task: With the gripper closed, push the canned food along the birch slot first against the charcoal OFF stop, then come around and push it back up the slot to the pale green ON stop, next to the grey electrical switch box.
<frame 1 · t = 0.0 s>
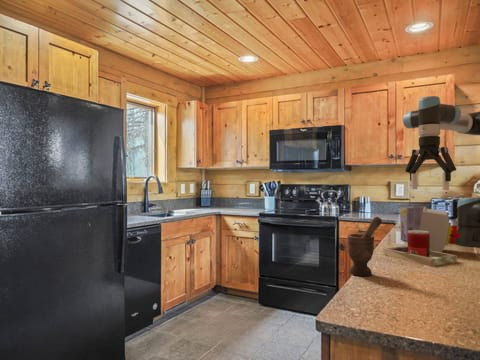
hand: (429, 189, 139), 28 cm above the counter, tool pointing down, fingers open, 13 cm apart
canned food: (418, 258, 142), resting in slot frame
slot frame: (418, 258, 142), on the counter
mortar and pestle: (365, 275, 118), on the counter
cake pan box: (414, 239, 187), on the counter
electrical switch box: (437, 252, 155), on the counter
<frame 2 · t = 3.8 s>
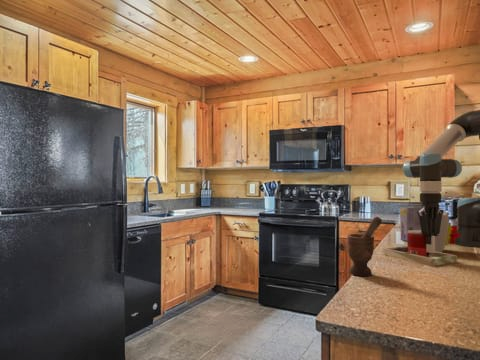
hand: (430, 252, 137), 3 cm above the counter, tool pointing down, fingers closed
canned food: (418, 258, 142), resting in slot frame, touching gripper
everything else where it was.
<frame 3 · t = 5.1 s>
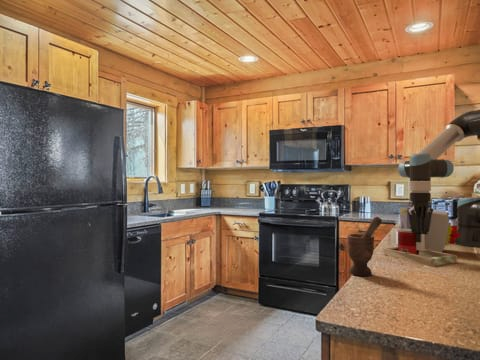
hand: (420, 250, 141), 3 cm above the counter, tool pointing down, fingers closed
canned food: (408, 256, 146), resting in slot frame, touching gripper
everything else where it was.
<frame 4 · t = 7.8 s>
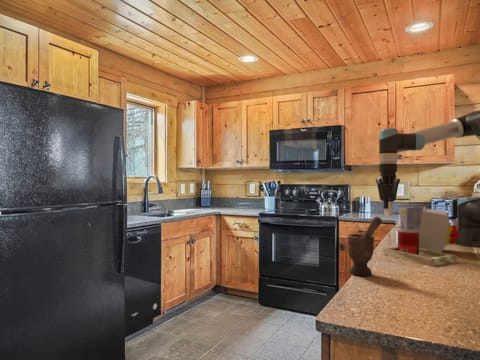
hand: (387, 216, 156), 16 cm above the counter, tool pointing down, fingers closed
canned food: (408, 256, 146), resting in slot frame
everything else where it was.
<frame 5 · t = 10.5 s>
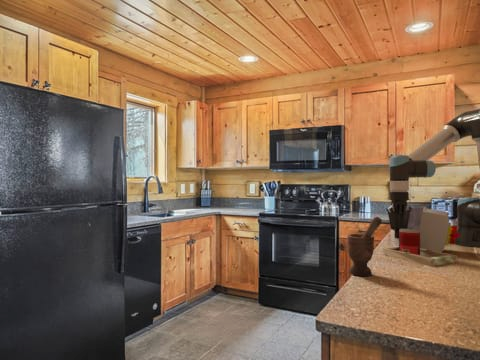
hand: (399, 245, 151), 3 cm above the counter, tool pointing down, fingers closed
canned food: (409, 256, 146), resting in slot frame, touching gripper
everything else where it was.
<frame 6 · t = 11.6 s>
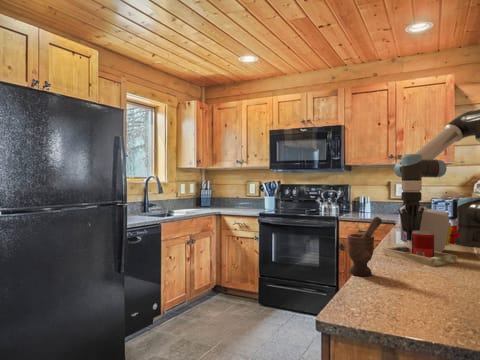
hand: (411, 248, 145), 4 cm above the counter, tool pointing down, fingers closed
canned food: (422, 259, 140), resting in slot frame, touching gripper
everything else where it was.
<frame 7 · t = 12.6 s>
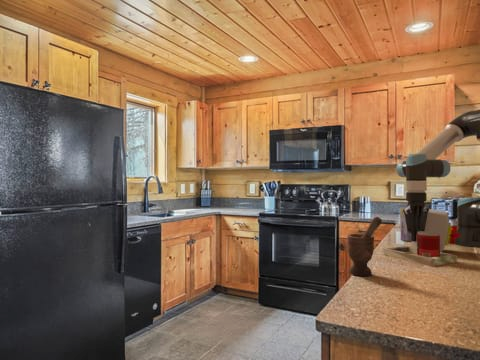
hand: (416, 249, 143), 4 cm above the counter, tool pointing down, fingers closed
canned food: (428, 260, 138), resting in slot frame, touching gripper
everything else where it was.
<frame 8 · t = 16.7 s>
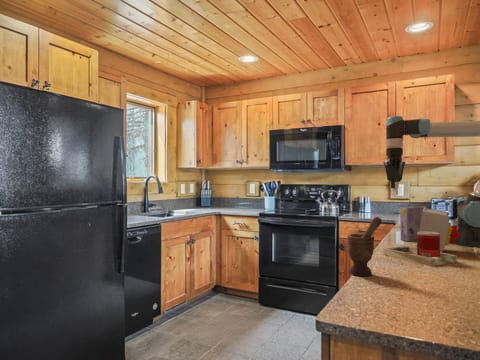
hand: (394, 194, 174), 24 cm above the counter, tool pointing down, fingers closed
canned food: (428, 260, 138), resting in slot frame
everything else where it was.
at the end: canned food inside the target area (1.3 cm from its centre), resting in slot frame; canned food tilted 0°; canned food moved 4.4 cm from its start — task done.
